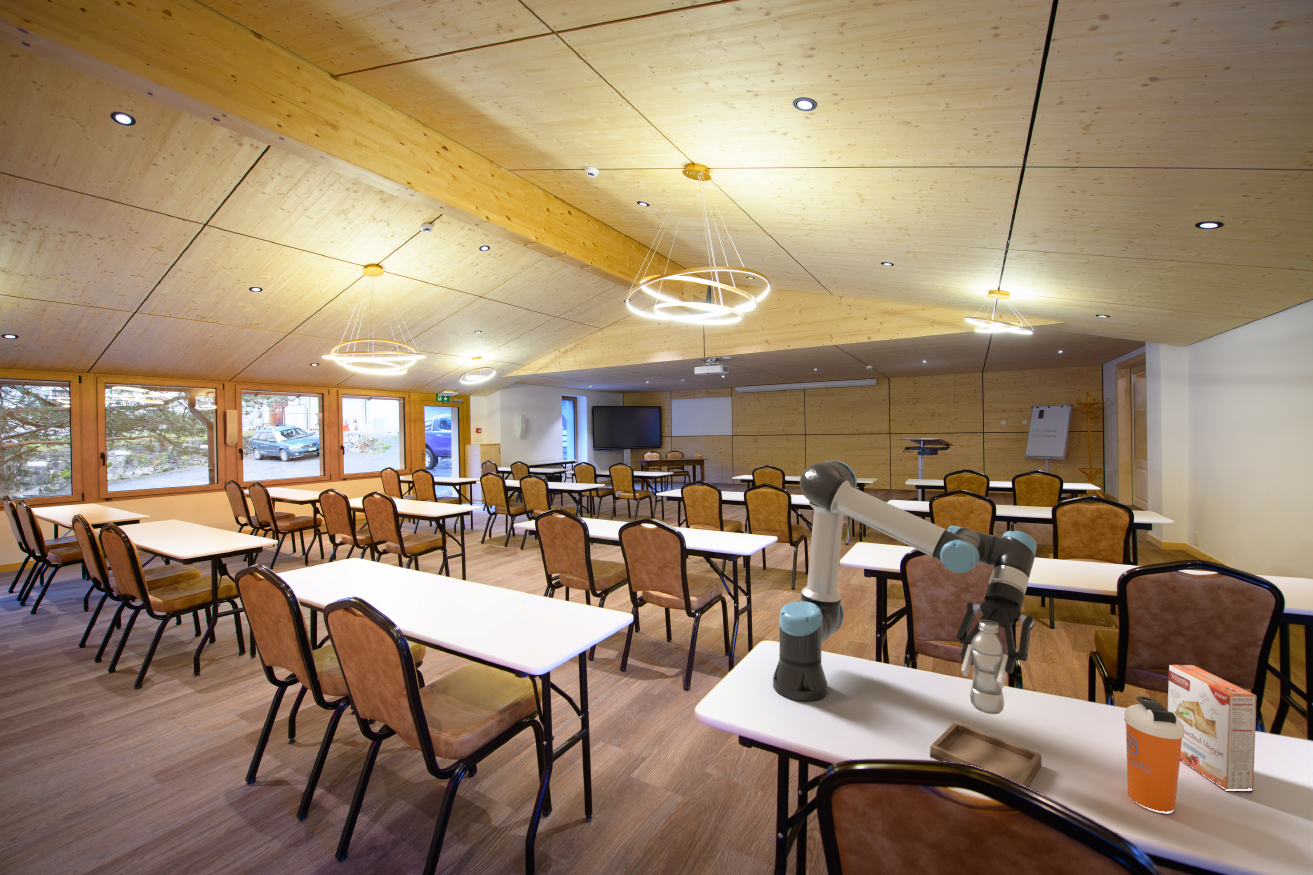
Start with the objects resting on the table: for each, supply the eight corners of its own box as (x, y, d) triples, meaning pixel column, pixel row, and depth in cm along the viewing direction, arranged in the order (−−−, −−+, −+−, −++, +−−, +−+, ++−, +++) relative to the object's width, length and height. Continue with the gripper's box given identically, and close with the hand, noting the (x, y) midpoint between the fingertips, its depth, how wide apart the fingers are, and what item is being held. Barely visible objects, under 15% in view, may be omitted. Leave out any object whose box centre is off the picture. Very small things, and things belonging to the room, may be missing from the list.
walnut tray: (930, 756, 126) (930, 745, 125) (954, 731, 136) (954, 721, 136) (1021, 796, 112) (1022, 784, 112) (1041, 765, 122) (1041, 754, 122)
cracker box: (1164, 751, 128) (1167, 663, 127) (1190, 752, 127) (1194, 663, 127) (1224, 792, 114) (1228, 693, 113) (1254, 793, 113) (1258, 694, 113)
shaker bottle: (1156, 788, 115) (1160, 694, 114) (1194, 819, 106) (1198, 718, 105) (1110, 785, 116) (1113, 692, 115) (1144, 816, 107) (1147, 715, 106)
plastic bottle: (992, 721, 119) (995, 630, 118) (963, 706, 125) (965, 620, 124) (1010, 713, 122) (1013, 625, 121) (980, 699, 128) (982, 615, 127)
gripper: (1057, 608, 126) (1036, 703, 116) (965, 589, 140) (939, 671, 130) (1052, 590, 122) (1030, 686, 112) (958, 572, 136) (931, 656, 126)
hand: (981, 678), depth 121 cm, fingers closed on plastic bottle, 6 cm apart
